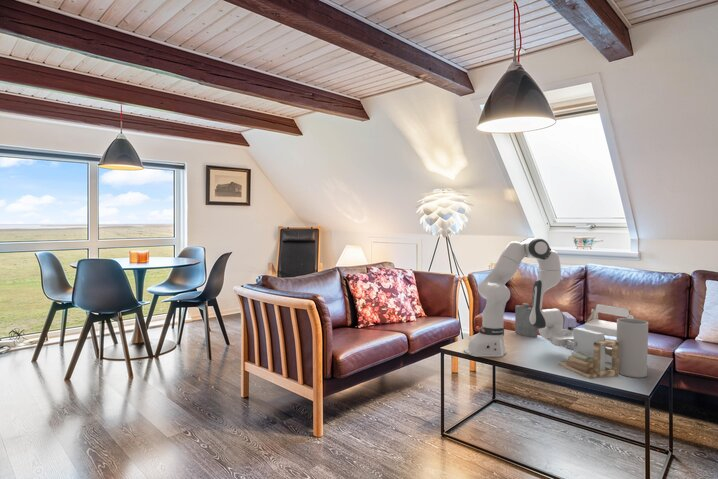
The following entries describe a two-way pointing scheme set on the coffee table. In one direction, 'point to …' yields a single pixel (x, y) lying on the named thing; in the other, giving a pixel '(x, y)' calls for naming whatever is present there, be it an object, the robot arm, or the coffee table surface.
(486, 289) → the robot arm
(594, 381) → the coffee table surface
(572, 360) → the offcut stack
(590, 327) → the gable box
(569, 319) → the cake pan box
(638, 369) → the cylinder vase
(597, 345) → the rack
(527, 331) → the hip flask
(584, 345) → the tall board
